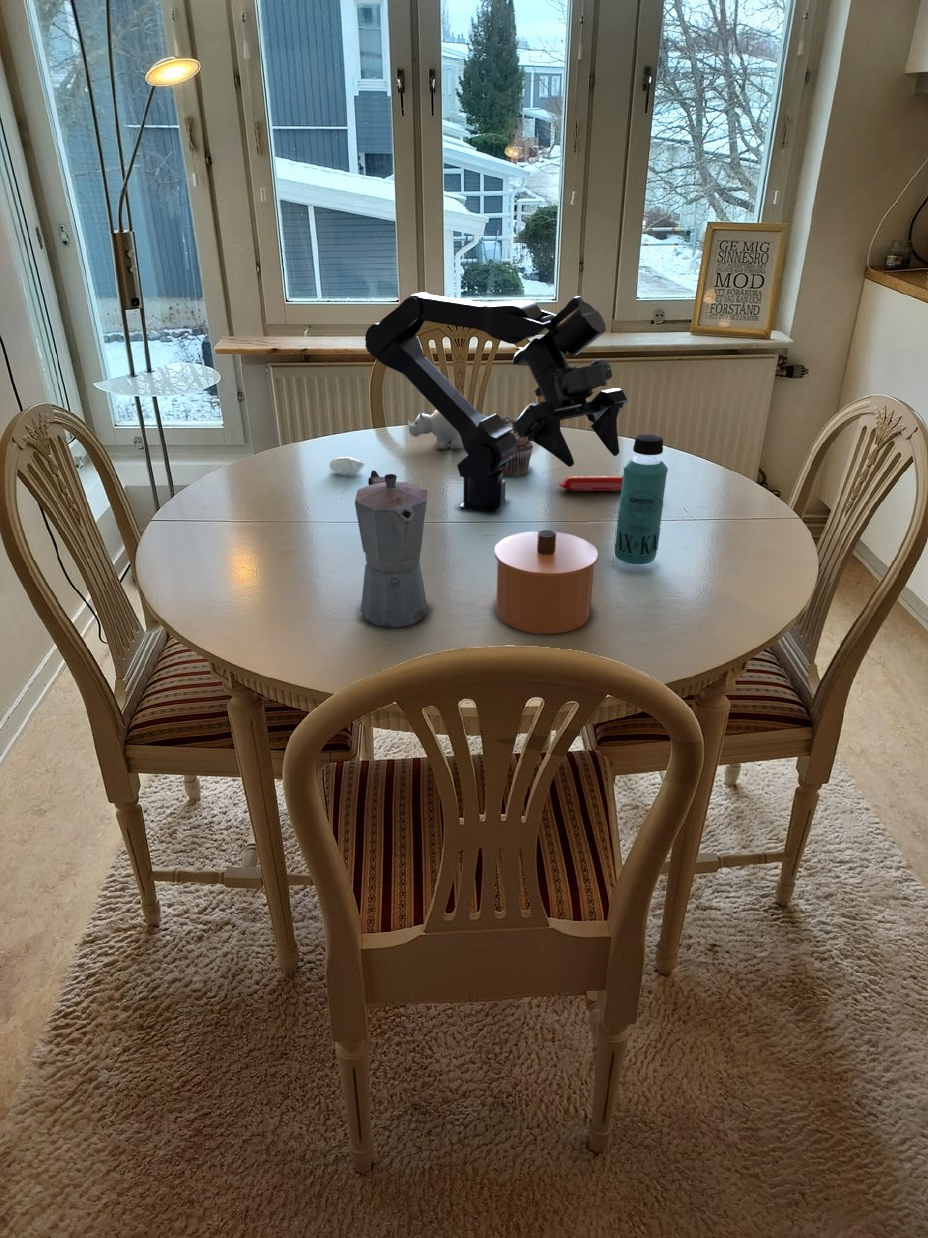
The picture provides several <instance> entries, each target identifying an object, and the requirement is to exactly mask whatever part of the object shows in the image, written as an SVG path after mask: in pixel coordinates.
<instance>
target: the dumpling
mask: <svg viewBox="0 0 928 1238" xmlns="http://www.w3.org/2000/svg"><path fill="white" fill-rule="evenodd" d="M364 466H365V462H363V461H361V460H359V459H355V458H354V457H351V456H341V457H335V458H333V459H331V461H330V462H329V464H328V467H329V469H330V471H332V472H334V473H335V474H337V475H342V476H343V475H347V476H351V477H352V476H355V475H357V474H358V473H359V472H360V471H361V470H362V469H363V467H364Z"/></svg>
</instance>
